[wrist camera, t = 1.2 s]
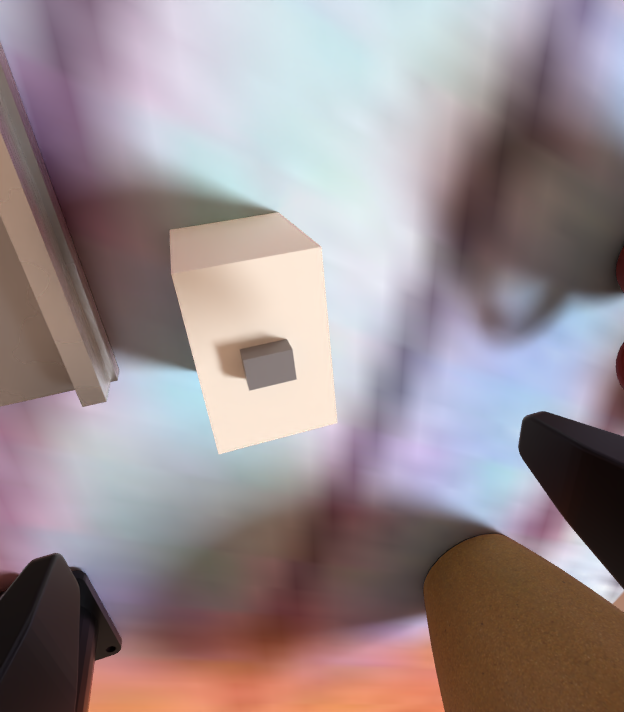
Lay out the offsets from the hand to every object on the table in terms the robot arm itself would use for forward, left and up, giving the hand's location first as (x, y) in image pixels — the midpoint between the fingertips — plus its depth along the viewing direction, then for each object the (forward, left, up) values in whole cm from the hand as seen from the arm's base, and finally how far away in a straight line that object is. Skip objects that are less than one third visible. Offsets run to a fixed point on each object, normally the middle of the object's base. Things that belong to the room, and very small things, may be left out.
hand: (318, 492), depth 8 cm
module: (0, 0, -11) cm, 11 cm away
